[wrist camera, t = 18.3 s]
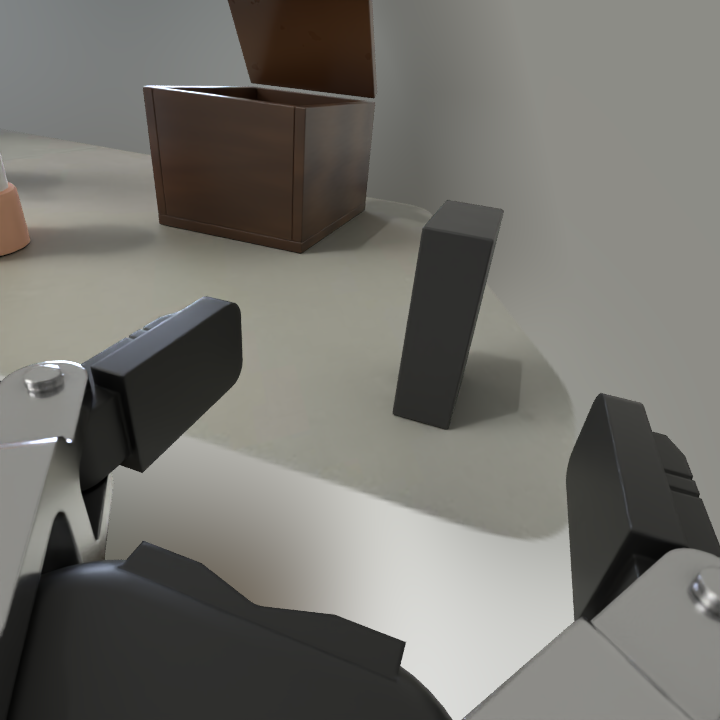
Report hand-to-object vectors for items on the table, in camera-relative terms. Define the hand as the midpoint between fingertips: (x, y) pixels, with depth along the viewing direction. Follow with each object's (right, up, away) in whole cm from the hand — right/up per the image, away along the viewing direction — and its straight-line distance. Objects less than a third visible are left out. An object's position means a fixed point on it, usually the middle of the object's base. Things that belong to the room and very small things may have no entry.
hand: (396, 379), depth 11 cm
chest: (-9, +14, +33) cm, 37 cm away
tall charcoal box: (+2, -1, +11) cm, 12 cm away
